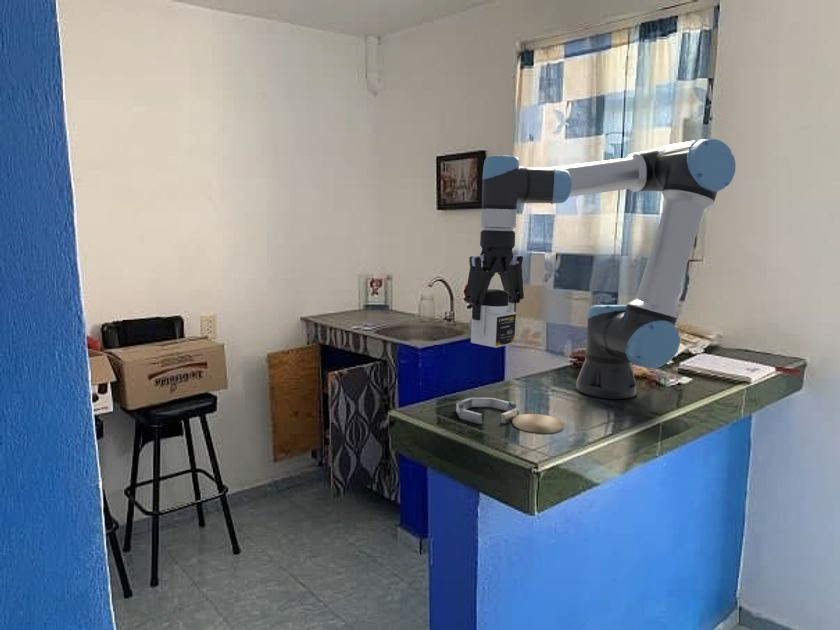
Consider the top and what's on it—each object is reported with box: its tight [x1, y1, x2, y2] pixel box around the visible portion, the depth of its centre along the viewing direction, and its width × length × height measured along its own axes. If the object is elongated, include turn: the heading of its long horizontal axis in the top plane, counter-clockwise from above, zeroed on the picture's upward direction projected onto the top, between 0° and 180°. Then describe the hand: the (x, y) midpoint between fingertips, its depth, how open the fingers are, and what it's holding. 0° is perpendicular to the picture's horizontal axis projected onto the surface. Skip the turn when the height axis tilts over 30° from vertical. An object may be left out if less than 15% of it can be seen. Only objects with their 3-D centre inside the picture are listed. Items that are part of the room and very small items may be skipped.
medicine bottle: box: [470, 288, 517, 348], centre depth 138 cm, size 7×7×12 cm
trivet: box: [511, 413, 565, 434], centre depth 136 cm, size 11×11×1 cm
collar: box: [455, 397, 518, 425], centre depth 141 cm, size 13×13×3 cm
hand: (493, 332), depth 138 cm, fingers closed on medicine bottle, 8 cm apart
